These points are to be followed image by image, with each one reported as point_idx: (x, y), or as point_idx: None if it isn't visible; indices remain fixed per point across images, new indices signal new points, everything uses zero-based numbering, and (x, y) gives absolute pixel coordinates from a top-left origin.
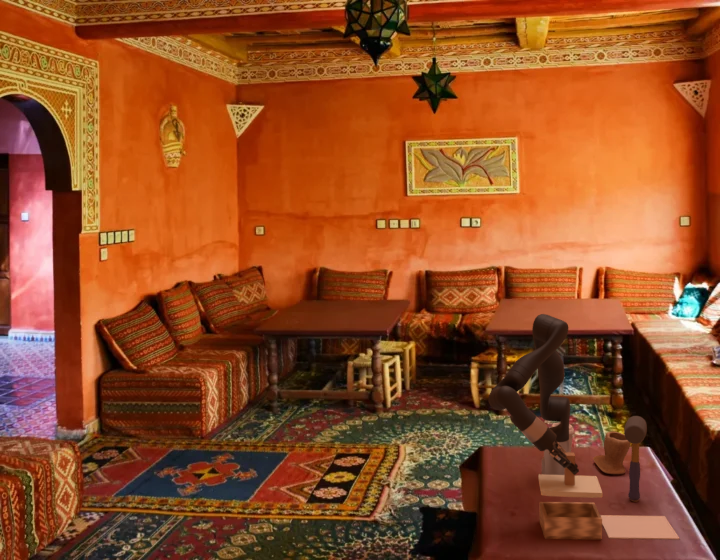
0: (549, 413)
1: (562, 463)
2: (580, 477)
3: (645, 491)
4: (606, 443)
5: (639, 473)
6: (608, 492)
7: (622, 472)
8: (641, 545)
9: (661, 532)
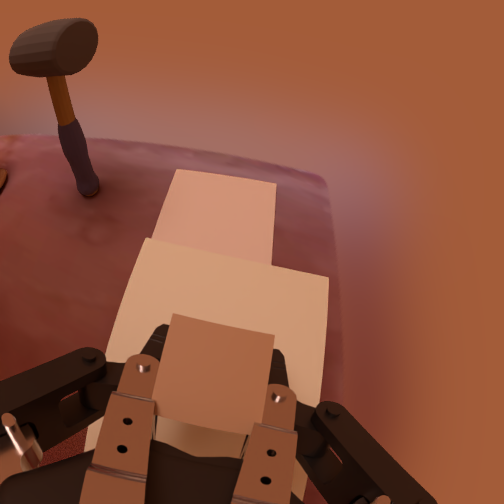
0: None
1: (313, 466)
2: (142, 309)
3: (69, 164)
4: None
5: (84, 137)
6: (40, 221)
7: (5, 174)
8: (302, 255)
9: (249, 199)
